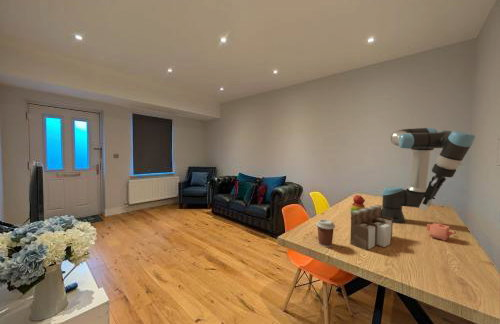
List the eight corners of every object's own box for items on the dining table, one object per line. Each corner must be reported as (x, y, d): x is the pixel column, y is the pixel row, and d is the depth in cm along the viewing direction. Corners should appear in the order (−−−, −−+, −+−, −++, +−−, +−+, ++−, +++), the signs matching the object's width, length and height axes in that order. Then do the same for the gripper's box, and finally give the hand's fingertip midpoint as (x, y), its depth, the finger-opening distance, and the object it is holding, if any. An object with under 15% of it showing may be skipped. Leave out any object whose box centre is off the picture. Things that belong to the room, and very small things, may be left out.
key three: (362, 241, 108) (363, 222, 107) (374, 246, 103) (375, 226, 102) (356, 244, 104) (357, 225, 104) (368, 249, 99) (369, 228, 99)
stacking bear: (368, 223, 138) (369, 197, 137) (352, 222, 140) (353, 196, 139) (363, 218, 148) (364, 194, 147) (348, 217, 150) (349, 193, 149)
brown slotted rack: (376, 233, 120) (377, 204, 120) (392, 237, 113) (393, 207, 113) (350, 243, 105) (350, 211, 105) (366, 250, 98) (367, 215, 98)
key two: (377, 240, 110) (377, 221, 109) (389, 244, 105) (390, 224, 104) (371, 242, 107) (372, 223, 106) (384, 247, 102) (384, 227, 101)
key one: (379, 234, 117) (380, 217, 117) (391, 238, 112) (391, 220, 112) (374, 236, 114) (374, 219, 114) (385, 240, 109) (386, 222, 109)
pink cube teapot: (454, 244, 106) (454, 228, 105) (424, 236, 115) (425, 222, 115) (457, 240, 110) (457, 225, 110) (428, 233, 120) (429, 220, 120)
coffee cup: (330, 240, 110) (330, 218, 109) (337, 248, 101) (338, 224, 100) (313, 240, 109) (313, 218, 109) (319, 248, 100) (320, 224, 100)
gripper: (451, 172, 84) (426, 217, 94) (461, 167, 91) (436, 209, 101) (430, 165, 90) (408, 208, 100) (440, 160, 97) (418, 201, 106)
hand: (422, 208), depth 100 cm, fingers closed
